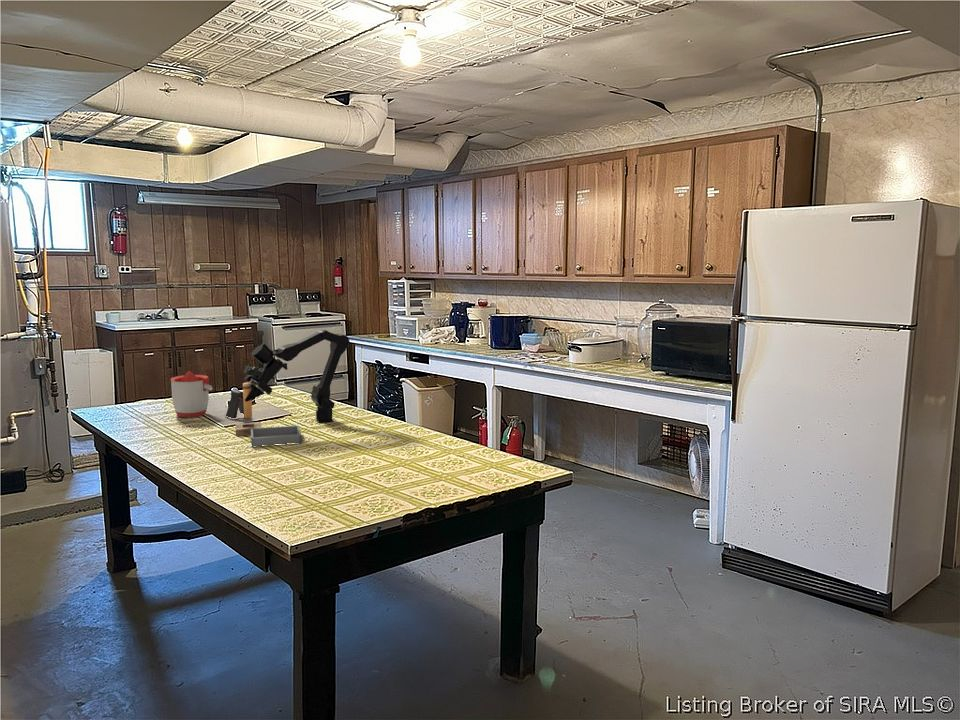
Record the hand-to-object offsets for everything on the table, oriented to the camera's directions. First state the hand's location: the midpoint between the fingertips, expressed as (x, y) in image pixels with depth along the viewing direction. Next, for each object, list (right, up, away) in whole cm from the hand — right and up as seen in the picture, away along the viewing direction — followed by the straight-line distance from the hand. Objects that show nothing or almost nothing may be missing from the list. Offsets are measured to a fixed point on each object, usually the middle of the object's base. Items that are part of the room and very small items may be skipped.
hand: (244, 400), depth 281 cm
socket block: (+1, -13, +3) cm, 13 cm away
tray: (+16, -15, -9) cm, 23 cm away
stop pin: (+1, -7, +2) cm, 7 cm away
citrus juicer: (-32, -8, +28) cm, 44 cm away
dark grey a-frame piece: (-11, -9, +26) cm, 30 cm away
